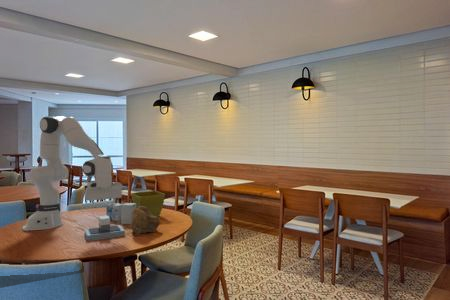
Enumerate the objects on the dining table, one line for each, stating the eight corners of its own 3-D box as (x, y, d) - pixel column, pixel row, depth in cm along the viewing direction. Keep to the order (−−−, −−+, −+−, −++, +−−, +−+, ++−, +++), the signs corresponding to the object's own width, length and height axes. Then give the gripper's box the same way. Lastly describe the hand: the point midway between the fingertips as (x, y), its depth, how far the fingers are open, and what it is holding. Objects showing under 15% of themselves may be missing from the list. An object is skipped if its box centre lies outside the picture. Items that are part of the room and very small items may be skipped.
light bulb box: (106, 219, 225) (105, 204, 225) (112, 217, 231) (112, 202, 231) (118, 221, 221) (118, 205, 221) (125, 219, 227) (124, 203, 227)
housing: (100, 231, 184) (100, 219, 183) (98, 228, 191) (98, 216, 190) (110, 230, 186) (109, 218, 186) (107, 227, 193) (107, 215, 193)
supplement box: (131, 224, 213) (131, 205, 212) (121, 223, 214) (120, 204, 214) (136, 221, 220) (136, 203, 219) (126, 221, 221) (126, 202, 221)
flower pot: (165, 217, 232) (165, 193, 231) (139, 221, 221) (139, 196, 221) (155, 212, 248) (155, 190, 247) (130, 215, 237) (130, 192, 236)
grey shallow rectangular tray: (87, 241, 177) (87, 234, 177) (84, 234, 190) (84, 228, 190) (124, 235, 187) (124, 229, 187) (119, 229, 199) (119, 224, 199)
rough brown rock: (157, 238, 185) (159, 211, 185) (127, 236, 183) (129, 210, 184) (160, 228, 208) (162, 205, 209) (134, 227, 207) (136, 203, 207)
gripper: (121, 181, 195) (121, 204, 196) (84, 183, 185) (84, 207, 186) (123, 182, 190) (123, 206, 190) (85, 184, 180) (85, 209, 180)
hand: (103, 206), depth 188 cm, fingers open, 8 cm apart
